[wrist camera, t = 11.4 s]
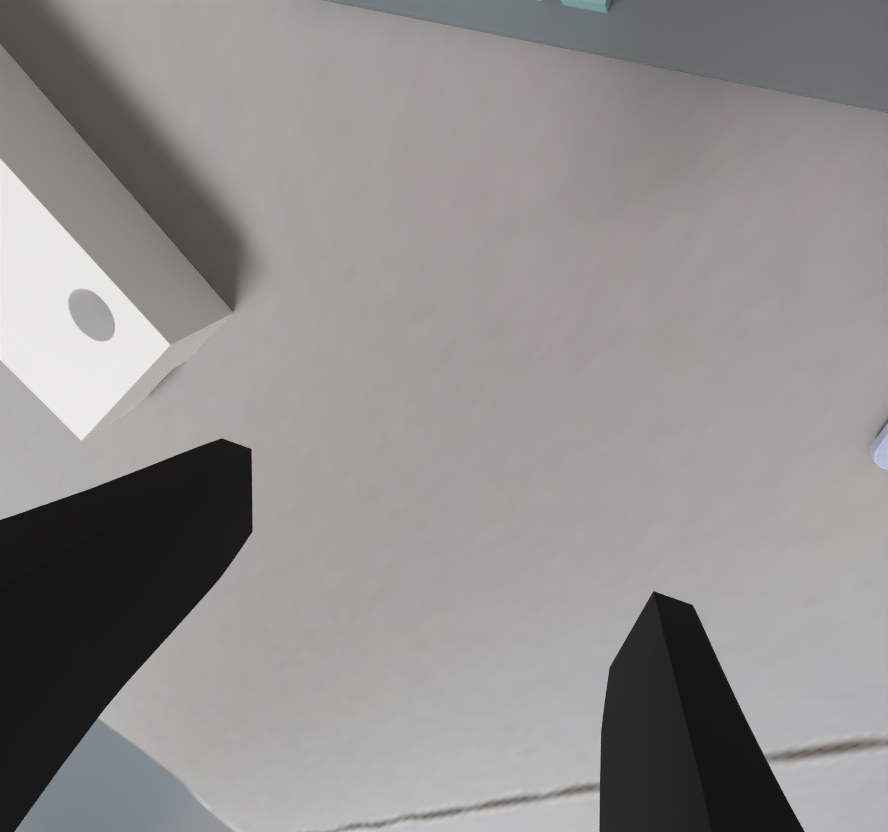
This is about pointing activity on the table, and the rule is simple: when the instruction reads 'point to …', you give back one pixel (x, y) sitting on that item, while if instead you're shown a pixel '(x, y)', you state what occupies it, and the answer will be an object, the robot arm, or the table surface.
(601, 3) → the teal frame
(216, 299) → the bracket
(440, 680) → the table surface
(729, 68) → the rubber mat
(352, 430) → the table surface
